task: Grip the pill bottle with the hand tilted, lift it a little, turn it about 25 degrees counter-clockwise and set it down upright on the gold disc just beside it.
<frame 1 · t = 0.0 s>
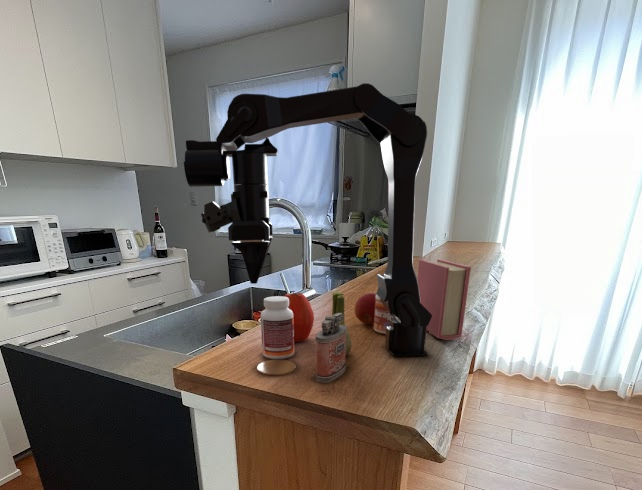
hand: (255, 279, 69), 15 cm above the table, tool pointing down, fingers open, 9 cm apart
fennel bulb: (338, 355, 73), on the table
gold disc: (276, 367, 67), on the table
pill bottle 2: (387, 331, 87), on the table
lighter: (331, 374, 65), on the table
apple 2: (375, 318, 89), point 2 cm above the table
pill bottle: (278, 355, 74), on the table
book: (426, 298, 83), point 8 cm above the table
apple: (295, 340, 83), on the table
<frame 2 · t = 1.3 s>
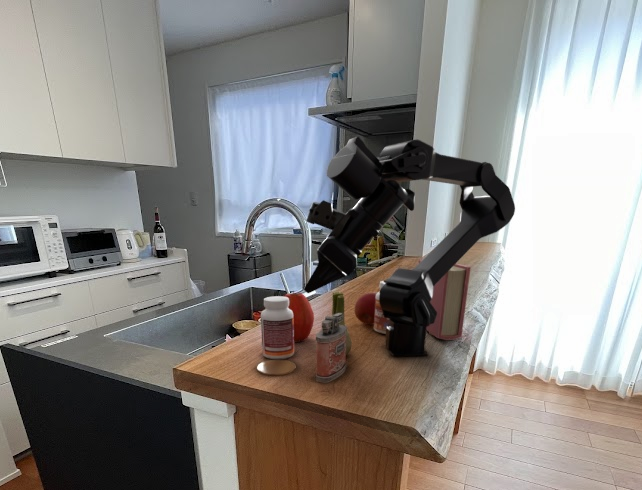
hand: (309, 285, 69), 13 cm above the table, tool tilted 40°, fingers open, 9 cm apart
book: (426, 298, 83), point 8 cm above the table, touching arm
everything else where it was.
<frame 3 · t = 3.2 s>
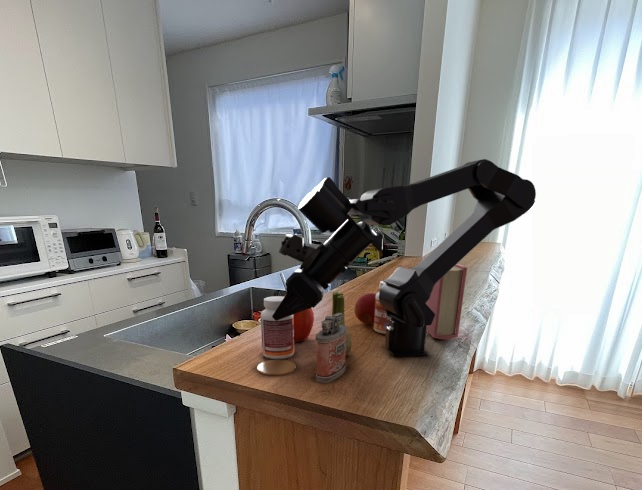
hand: (278, 312, 71), 8 cm above the table, tool tilted 45°, fingers open, 9 cm apart
book: (426, 298, 84), point 8 cm above the table
everything else where it was.
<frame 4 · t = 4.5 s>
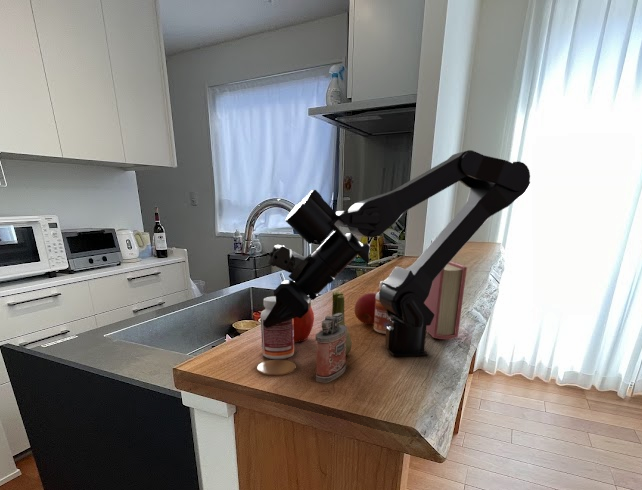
hand: (268, 321, 72), 7 cm above the table, tool tilted 45°, fingers closed on pill bottle, 6 cm apart
pill bottle: (278, 355, 74), on the table, touching gripper
everything else where it was.
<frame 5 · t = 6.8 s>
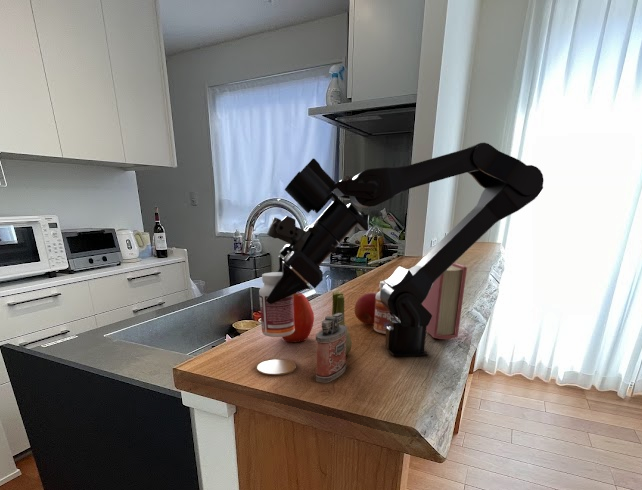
hand: (267, 298, 69), 11 cm above the table, tool tilted 45°, fingers closed on pill bottle, 6 cm apart
pill bottle: (278, 334, 71), point 4 cm above the table, touching gripper
everything else where it was.
when the fingers open (7 cm above the table, at t = 9.7 s): pill bottle stays where it is, resting on gold disc.
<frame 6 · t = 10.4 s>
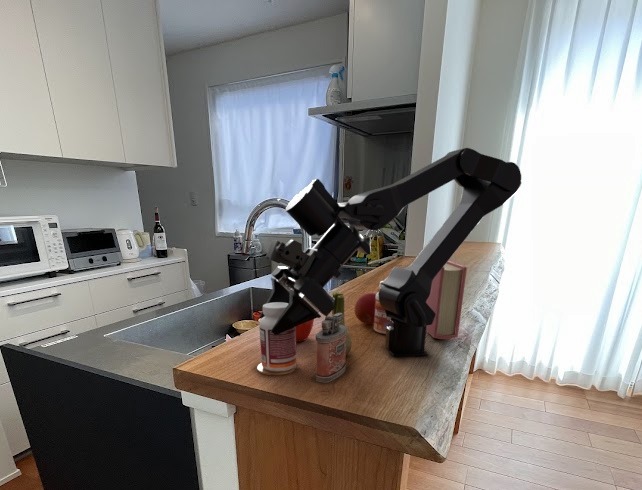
hand: (267, 325, 64), 8 cm above the table, tool tilted 45°, fingers open, 9 cm apart
pill bottle: (279, 367, 67), resting on gold disc
everything else where it was.
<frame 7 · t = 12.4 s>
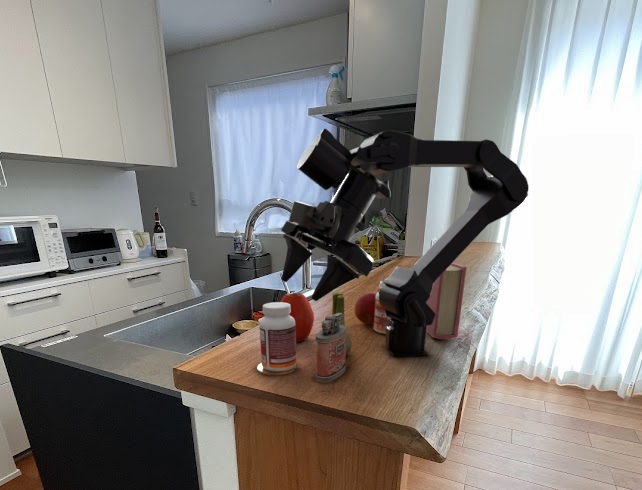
hand: (297, 289, 64), 14 cm above the table, tool tilted 35°, fingers open, 9 cm apart
nothing on the table moved.
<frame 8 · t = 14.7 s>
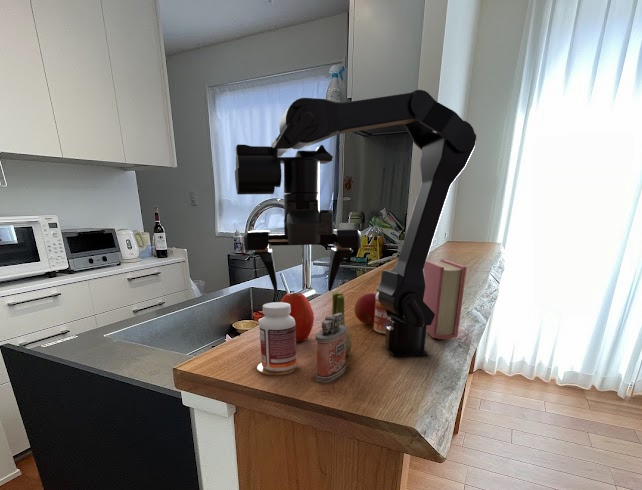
hand: (302, 291, 66), 13 cm above the table, tool pointing down, fingers open, 9 cm apart
nothing on the table moved.
at the end: pill bottle 0.5 cm from the target spot, resting on gold disc; pill bottle tilted 0°; the gripper is holding nothing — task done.
